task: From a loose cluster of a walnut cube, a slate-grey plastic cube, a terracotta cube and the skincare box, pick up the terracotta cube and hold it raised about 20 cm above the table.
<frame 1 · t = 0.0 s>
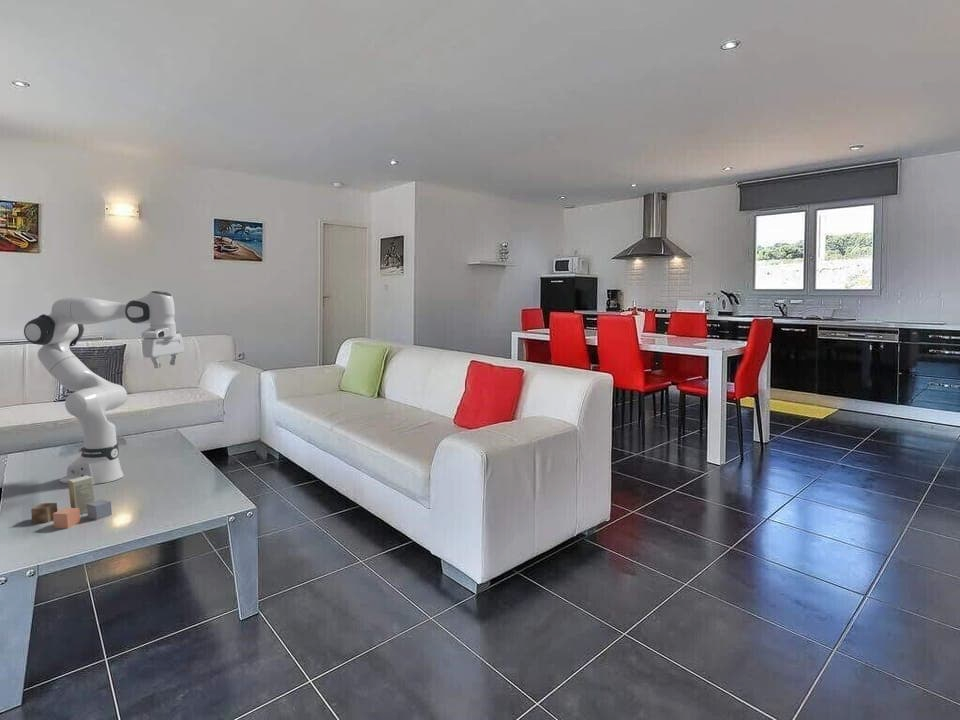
hand: (165, 366, 222), 48 cm above the table, fingers open, 8 cm apart
slate cube: (99, 516, 192), on the table
terracotta cube: (67, 525, 185), on the table
skincare box: (83, 512, 196), on the table
walnut cube: (45, 519, 189), on the table
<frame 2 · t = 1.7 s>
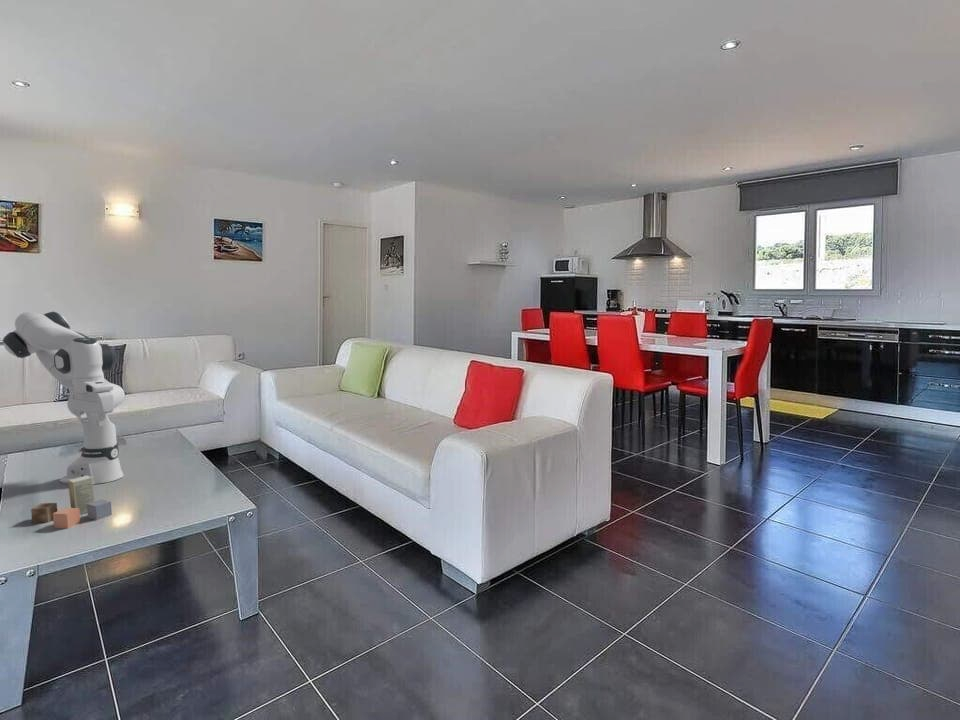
hand: (92, 424, 193), 32 cm above the table, fingers open, 8 cm apart
nothing on the table moved.
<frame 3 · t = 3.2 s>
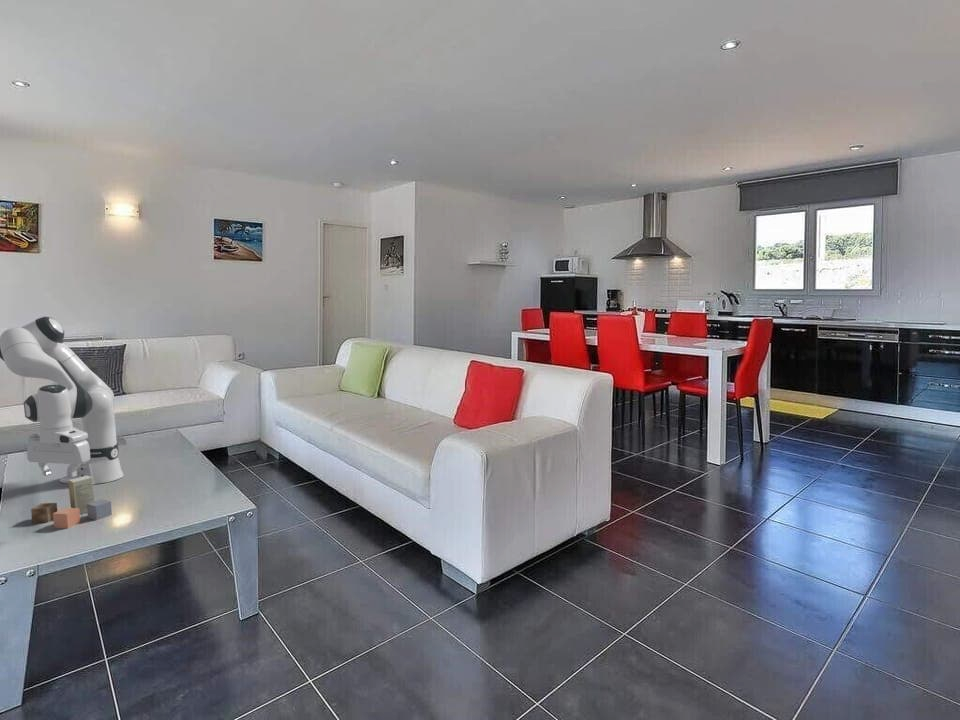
hand: (59, 475, 182), 17 cm above the table, fingers open, 8 cm apart
nothing on the table moved.
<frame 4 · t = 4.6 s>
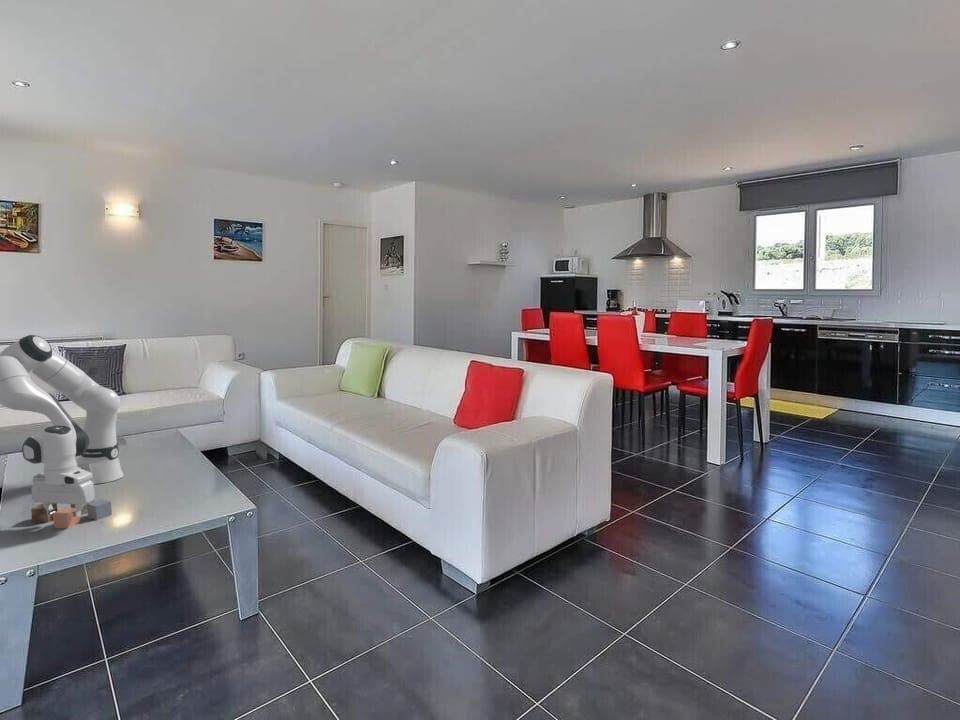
hand: (64, 515, 184), 3 cm above the table, fingers open, 8 cm apart
nothing on the table moved.
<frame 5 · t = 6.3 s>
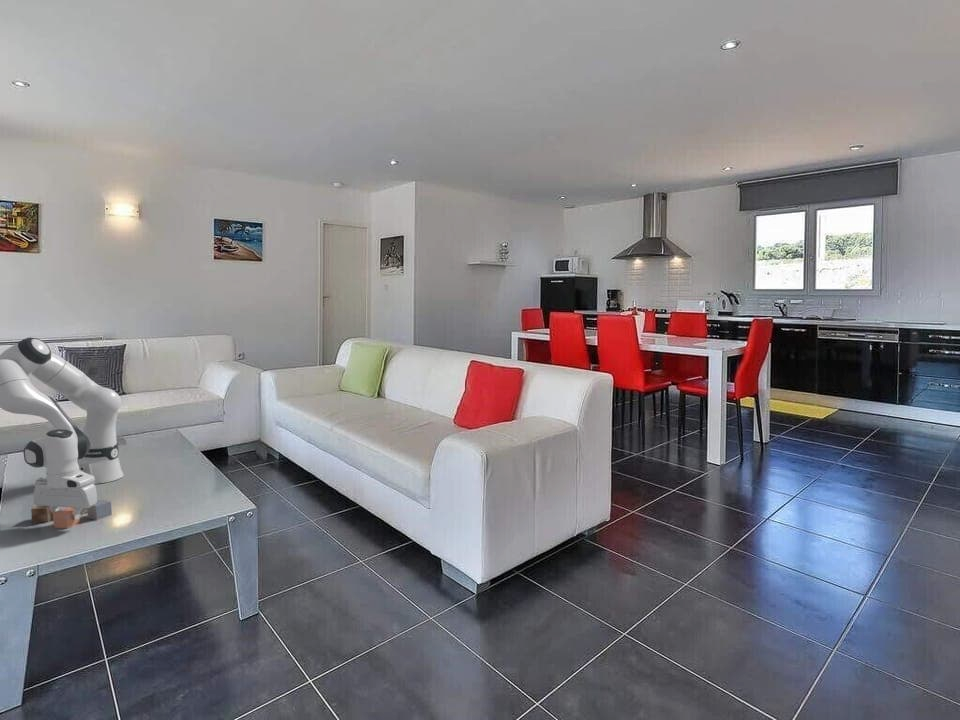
hand: (66, 518, 185), 2 cm above the table, fingers closed on terracotta cube, 5 cm apart
terracotta cube: (67, 524, 185), on the table, touching gripper
everything else where it was.
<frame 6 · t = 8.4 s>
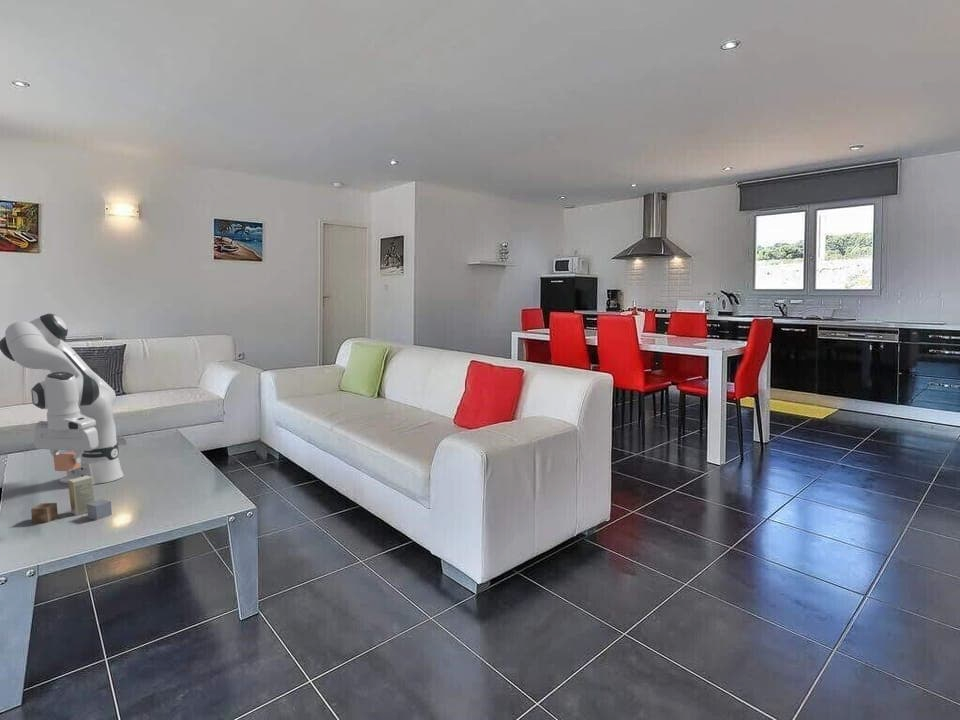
hand: (67, 462, 184), 21 cm above the table, fingers closed on terracotta cube, 5 cm apart
terracotta cube: (68, 468, 184), point 19 cm above the table, touching gripper
everything else where it was.
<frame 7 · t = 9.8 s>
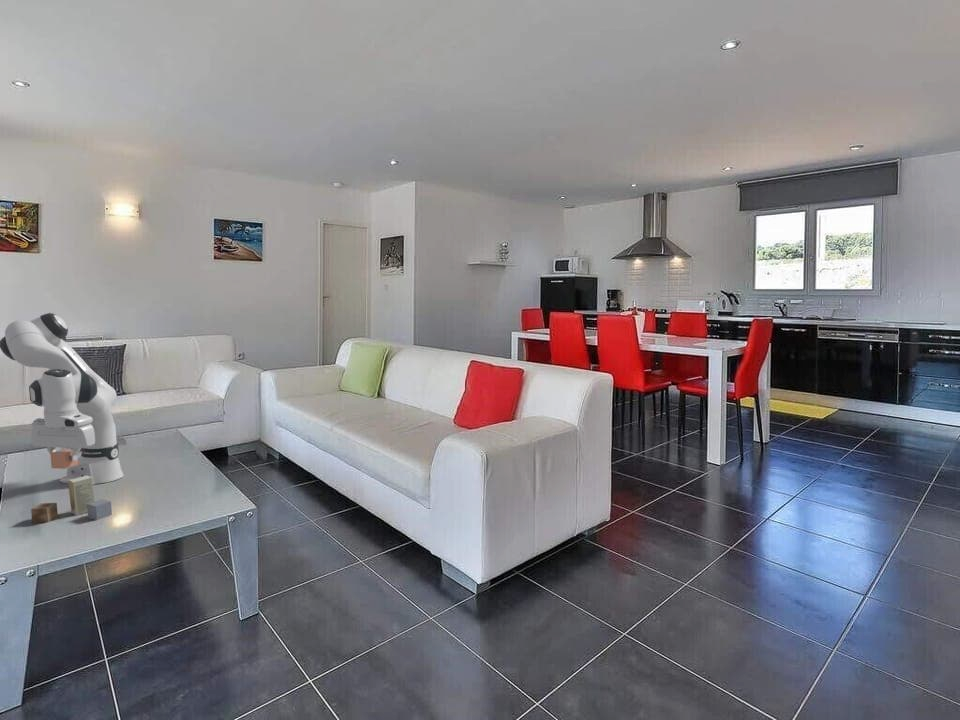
hand: (64, 459, 183), 22 cm above the table, fingers closed on terracotta cube, 5 cm apart
terracotta cube: (65, 466, 183), point 20 cm above the table, touching gripper
everything else where it was.
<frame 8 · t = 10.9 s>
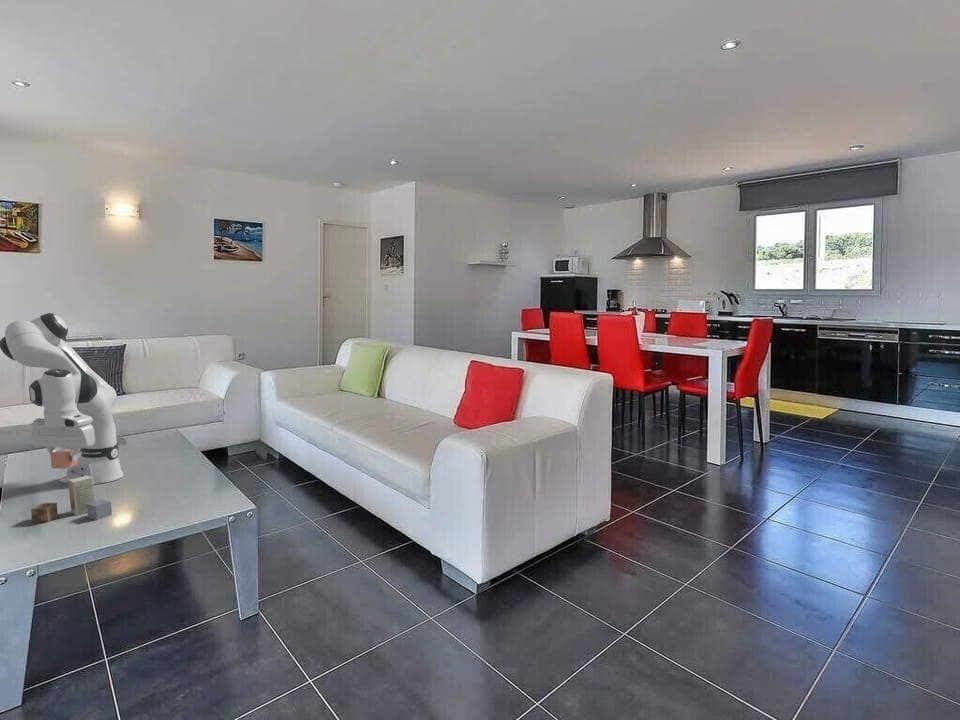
hand: (64, 459, 183), 22 cm above the table, fingers closed on terracotta cube, 5 cm apart
terracotta cube: (65, 466, 183), point 20 cm above the table, touching gripper
everything else where it was.
at the end: the gripper is holding terracotta cube; terracotta cube point 20.0 cm above the table; skincare box moved 0.2 cm from its start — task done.
